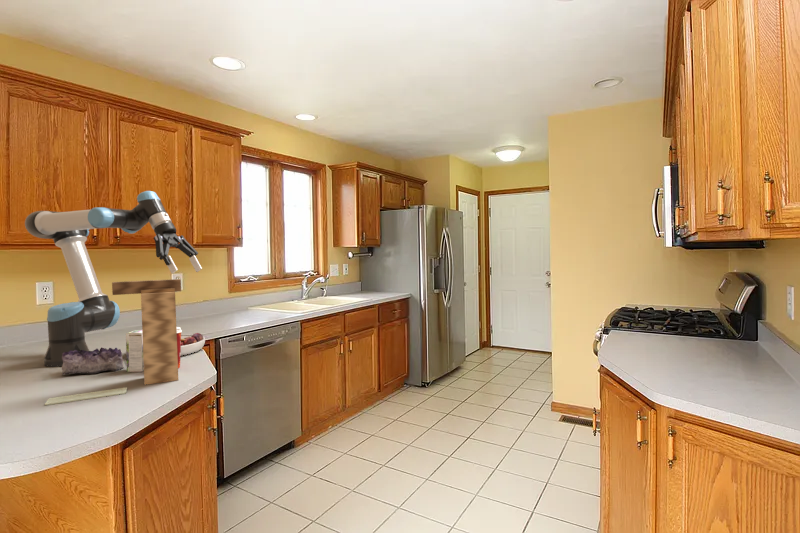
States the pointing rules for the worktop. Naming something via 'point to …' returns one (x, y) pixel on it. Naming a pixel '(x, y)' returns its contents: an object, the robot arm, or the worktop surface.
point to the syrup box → (134, 351)
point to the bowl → (191, 343)
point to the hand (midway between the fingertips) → (187, 271)
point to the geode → (92, 361)
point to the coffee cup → (178, 344)
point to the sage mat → (85, 396)
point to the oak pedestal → (159, 335)
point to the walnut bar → (144, 286)
